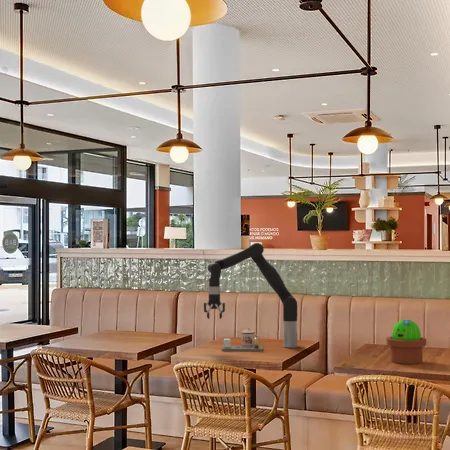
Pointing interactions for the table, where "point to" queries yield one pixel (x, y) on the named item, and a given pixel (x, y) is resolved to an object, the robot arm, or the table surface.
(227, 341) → the light grey block
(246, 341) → the teacup with lid
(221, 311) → the robot arm
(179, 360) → the table surface
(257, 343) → the plate
